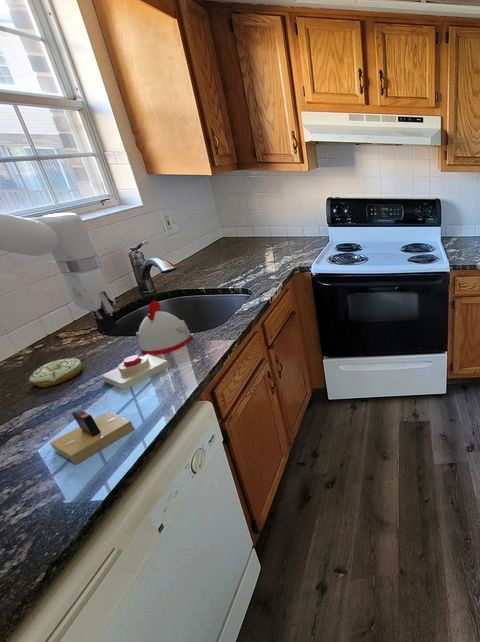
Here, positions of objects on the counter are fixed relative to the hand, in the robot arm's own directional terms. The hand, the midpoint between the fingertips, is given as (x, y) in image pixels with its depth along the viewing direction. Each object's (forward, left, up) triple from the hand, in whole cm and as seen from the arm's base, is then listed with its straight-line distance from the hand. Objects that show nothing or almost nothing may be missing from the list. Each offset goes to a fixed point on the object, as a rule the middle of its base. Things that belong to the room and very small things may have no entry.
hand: (109, 329), depth 98 cm
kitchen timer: (+16, +11, -16) cm, 25 cm away
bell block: (+2, +1, -16) cm, 16 cm away
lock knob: (-17, -19, -13) cm, 29 cm away
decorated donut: (-8, +21, -16) cm, 27 cm away
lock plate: (-17, -19, -16) cm, 30 cm away
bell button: (+2, +1, -12) cm, 12 cm away
